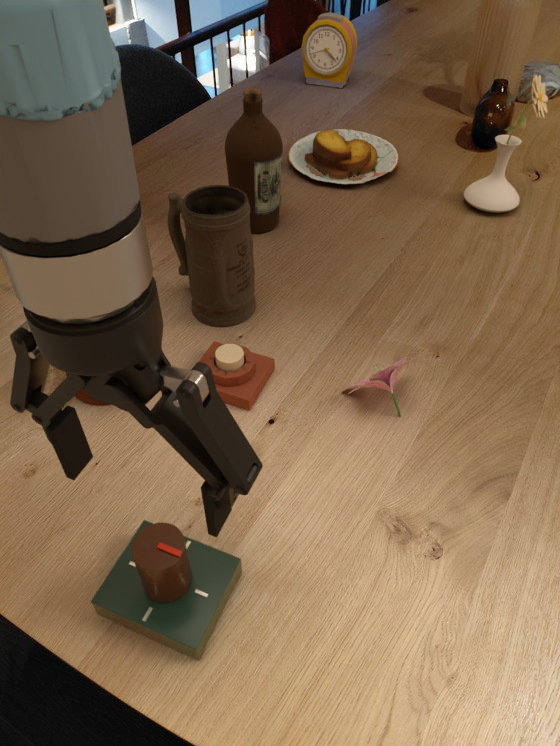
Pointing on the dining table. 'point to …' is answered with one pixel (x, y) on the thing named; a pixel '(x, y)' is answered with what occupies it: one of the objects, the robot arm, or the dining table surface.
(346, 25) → the alarm clock
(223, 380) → the button block
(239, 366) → the button
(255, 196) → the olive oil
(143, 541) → the knob
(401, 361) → the lily
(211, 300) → the beer stein
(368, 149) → the food on plate
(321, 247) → the dining table surface
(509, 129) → the flower in vase
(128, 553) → the panel
